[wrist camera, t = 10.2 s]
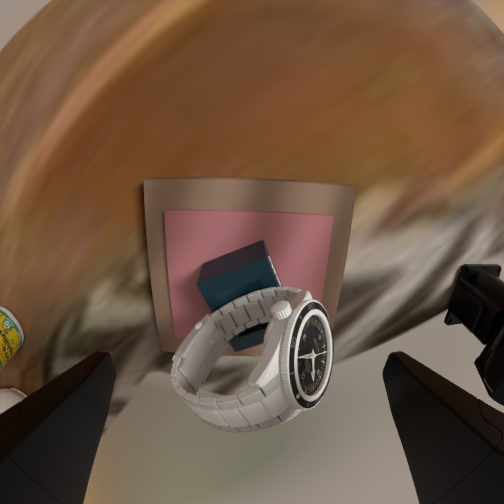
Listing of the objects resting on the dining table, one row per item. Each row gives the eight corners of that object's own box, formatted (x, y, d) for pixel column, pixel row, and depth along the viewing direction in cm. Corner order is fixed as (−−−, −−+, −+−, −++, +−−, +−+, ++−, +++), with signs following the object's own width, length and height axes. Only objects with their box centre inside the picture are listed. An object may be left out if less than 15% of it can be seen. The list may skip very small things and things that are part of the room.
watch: (315, 296, 21) (364, 417, 10) (214, 332, 22) (199, 458, 11) (290, 227, 19) (341, 328, 9) (180, 271, 20) (129, 390, 9)
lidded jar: (14, 411, 30) (-7, 448, 22) (-11, 367, 26) (-39, 406, 18) (61, 432, 31) (42, 476, 22) (38, 389, 27) (9, 438, 18)
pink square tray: (350, 185, 19) (357, 188, 18) (324, 347, 24) (327, 357, 23) (148, 177, 19) (141, 180, 17) (163, 343, 24) (160, 354, 22)
